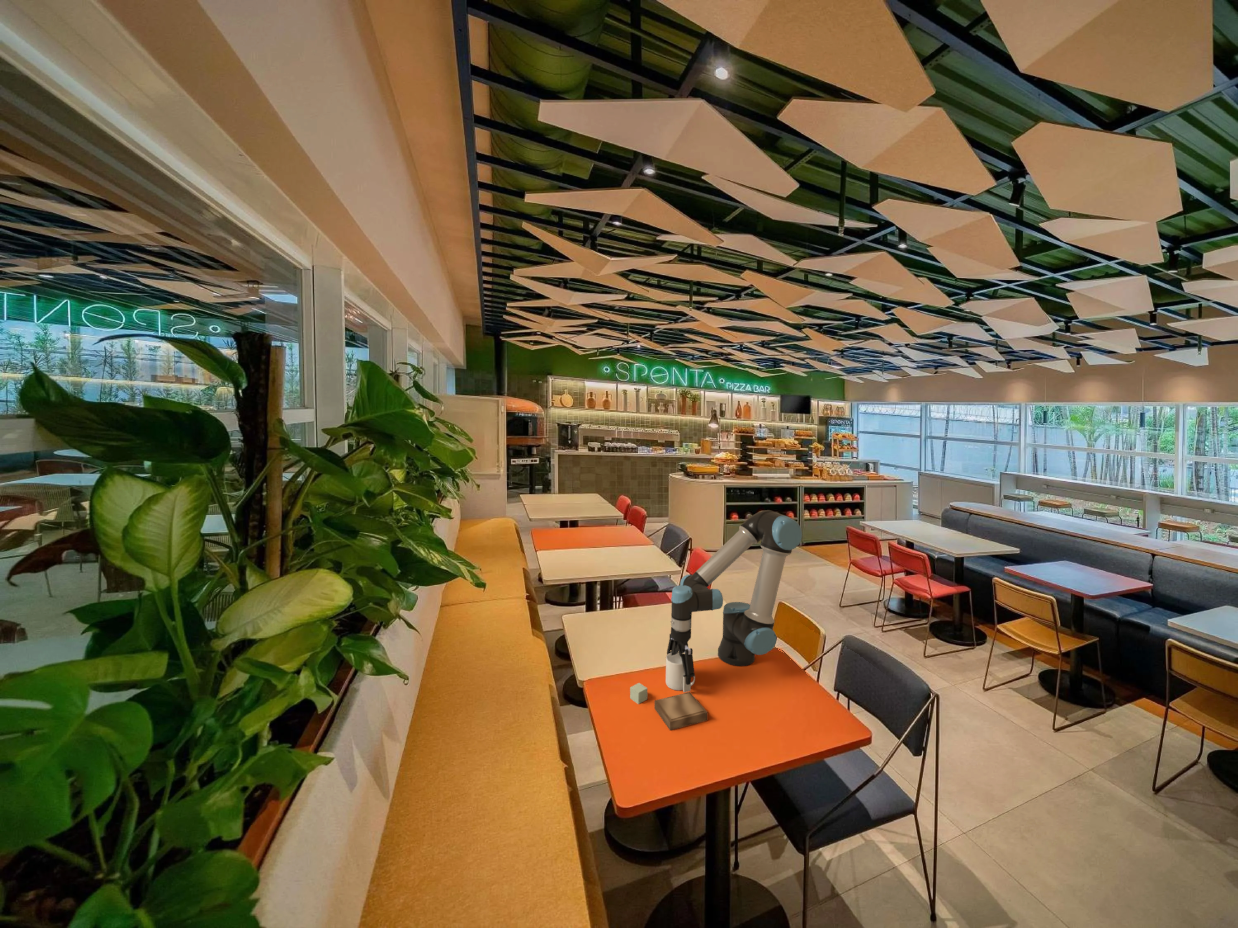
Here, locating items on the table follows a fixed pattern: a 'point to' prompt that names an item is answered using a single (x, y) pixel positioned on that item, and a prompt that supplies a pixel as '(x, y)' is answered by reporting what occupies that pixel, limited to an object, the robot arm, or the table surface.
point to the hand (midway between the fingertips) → (679, 682)
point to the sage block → (638, 693)
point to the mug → (675, 672)
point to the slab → (680, 710)
